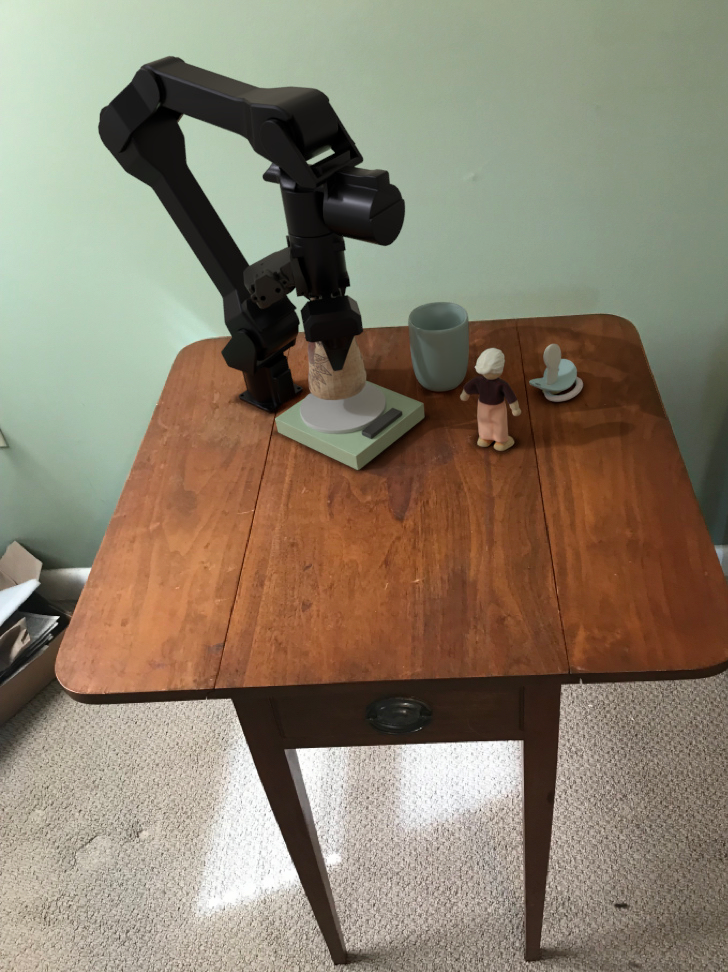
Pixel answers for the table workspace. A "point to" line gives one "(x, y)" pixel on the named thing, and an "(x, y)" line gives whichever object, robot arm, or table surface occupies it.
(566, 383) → the pacifier
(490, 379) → the grandmother figurine
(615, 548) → the table surface
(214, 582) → the table surface
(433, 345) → the cup
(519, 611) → the table surface
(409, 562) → the table surface
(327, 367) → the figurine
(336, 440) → the kitchen scale
